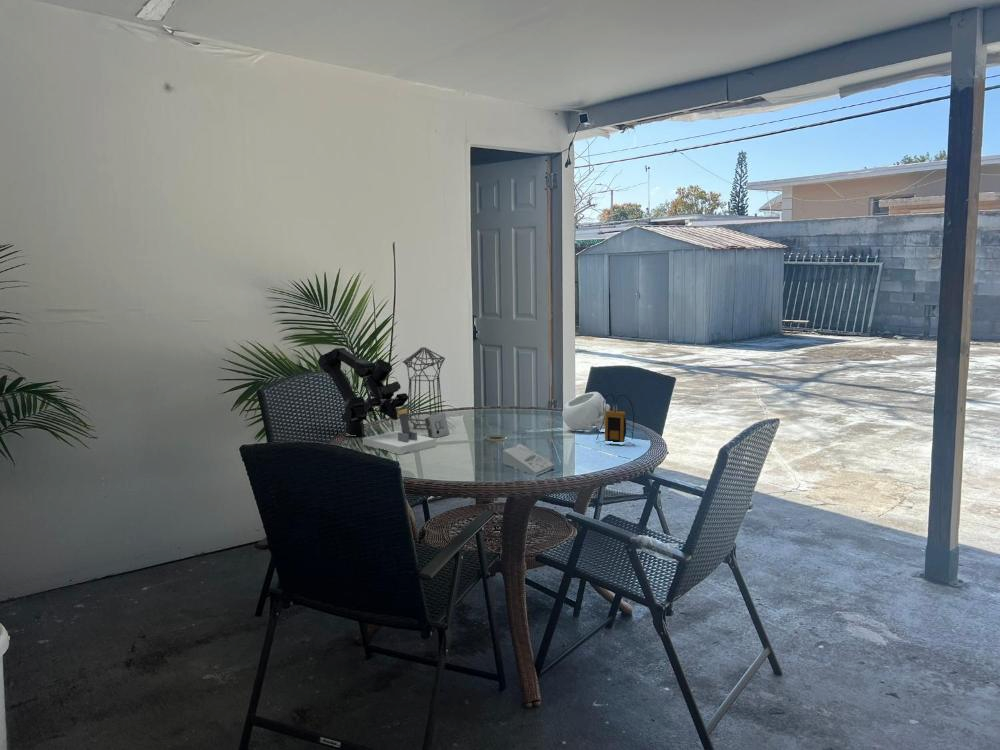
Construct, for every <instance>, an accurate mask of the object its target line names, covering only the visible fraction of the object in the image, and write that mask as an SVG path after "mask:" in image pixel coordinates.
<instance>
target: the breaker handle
mask: <svg viewBox="0 0 1000 750" xmlns="http://www.w3.org/2000/svg"><path fill="white" fill-rule="evenodd" d="M396 411H397V416H399V422H400V426H401V427H400V428H401V431H402V433H405V434H408V435H409V437H411V434H410V431H411V429H410V425H409V420H408V418H407V408H405V409H404V408H403V409H399V410H396Z"/></svg>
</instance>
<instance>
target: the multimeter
mask: <svg viewBox="0 0 1000 750" xmlns="http://www.w3.org/2000/svg"><path fill="white" fill-rule="evenodd" d="M609 395H611V397H612V396H613V397H612V398H613V409H612V410H610V409H609V410H608V411H606V412H605V414H604V420H605V433H604V442H605V441H613V442H624V441H625V442H626V434H627V419H626V412H625V411H618V403H615V396H614V394H612V393H608V394H607V395H606V396H605V397H604V400H606V398H607V397H608V396H609ZM621 396H623V397H626V398H627V399H628V401H629V403H630V405H631V409H632V416H633V419H632V420H633V423H632V429H634V427H635V412H634V408H633V404H632V402H631V400H630V398H629V397H628V396H627V395H624V394H620V395H618V396H617V398H616V400H618V399H619V397H621ZM603 412H604V402H603ZM603 423H604V421H603ZM602 425H603V424H602ZM601 428H602V426H601ZM600 430H601V429H600ZM600 434H601V433H600V431H598V434H597V437H596V440H598V439H599V435H600ZM631 435H632V436H631V439H633V438H634V437H633V436H634V431H632V433H631ZM596 440H595V441H596Z"/></svg>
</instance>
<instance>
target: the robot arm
mask: <svg viewBox="0 0 1000 750" xmlns="http://www.w3.org/2000/svg"><path fill="white" fill-rule="evenodd" d="M317 361H318V366H319V367H320V368H321V370H322V371H323V372H324V373H325V374H327V375H329V376H330V377H331V379H332V382H333V383H334V385H335V387H336V389H337V390H338V392H339V395H341V398H342V399H343V401H344V412H343V414H342V415H341V419H342V422H344V423H345V429H346V431H345V432H346V433H348V434H350V435H356V436H360V437H362V436H364V435H366V432H365V424H364V421H366V420H367V418H368V413H372V412H373V410H374V409H373V408H376V407H378V410H377V413H381V414H383V415H385V416H387V417H389V418H391V419H392V420H394V421H398V419H399V418H398V412H397V411H398V410H397V408H401V407H403V406H404V405H405V404H406V402H408V398H409V399H410V396H409V397H408V393H404V392H403V393H398V394H396V396H395V397H394V395H395V393H396V392H399V391H400V390H401V388H402V387H401V384H400V382H399V381H394V382H392V383H388V384H384V381H385V380H386V379H387V378H388V376H389V375H390V373H391V372H392V370H393V367H392V364H390V363H389V362H387V361H385V360H384V359H383V358H382V359H381V358H380V359H378V360H377V361H376V363H375V362H373V361H370V360H366V359H362V358H360V357H358V356H356V355H355V354H353V353H351V352H350V351H348V350H347V349H346V348H345V347H335V348H334V349H332V350H331V351H328V352H325V353H324V354H321V355H320V356H319V358H318V360H317ZM342 363H343V364H345V365H347V366H349V368H352V369H353V372H354V373H355V375H356V376H357V377H359V378H361V379H362V378H366V379H364V382H363V388H366V387H368V389H369V390H370V392H371V395H370V397H371V398H367V401H366V400H365V399H364V398H363V396H357V395H356V394H355V392H354V390H353V388H352V387H351V385H350V383H349V381H348V380H347V378H346V376H345V374H344V372H343V370H342ZM346 433H345V434H346ZM363 434H364V435H363ZM361 435H362V436H361Z"/></svg>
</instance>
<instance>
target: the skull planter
mask: <svg viewBox="0 0 1000 750" xmlns="http://www.w3.org/2000/svg"><path fill="white" fill-rule="evenodd" d="M604 399H605V397H603V395H602V394H601V393H600V392H598V391H590V392H585V393H582V394H580V395H578V396H575V397H573V398H571V399H569V400H568V401H567V402H565V403H564V406H563V408H562V409H563V410H562V419H563V422H564V423H565V425H566V426H567V428H569V429H570V430H571V429H572V430H574V431H575V430H585V431H587V430H588V431H590V432H591V431H592V430H593V428H594V427H593V426H596V427H597V428H596V429H597V430H600V429H605V420H604V414H605V412H606V411H608V410H610V409H611V406H610V404H608V403H606V399H605V400H604ZM603 402H604V412H603ZM603 421H604V423H603ZM602 424H603V425H602ZM601 426H602V428H601ZM572 430H571V431H572Z"/></svg>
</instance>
